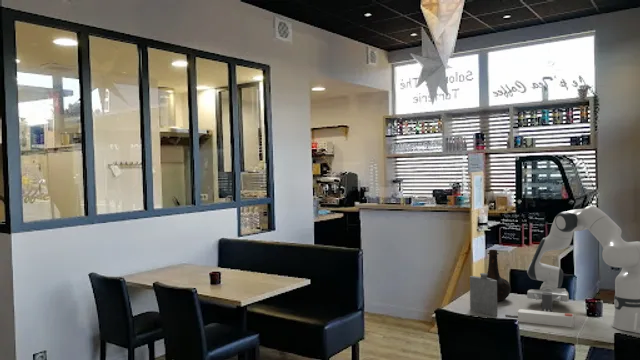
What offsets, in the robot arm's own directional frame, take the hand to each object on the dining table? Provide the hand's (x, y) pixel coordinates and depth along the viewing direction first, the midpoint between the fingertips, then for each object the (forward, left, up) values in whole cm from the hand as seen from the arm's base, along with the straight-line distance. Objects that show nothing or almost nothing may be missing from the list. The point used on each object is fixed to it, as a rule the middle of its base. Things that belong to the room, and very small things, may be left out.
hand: (547, 298), depth 271 cm
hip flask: (+33, +3, -6) cm, 34 cm away
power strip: (+12, +21, -6) cm, 25 cm away
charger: (+3, +7, -6) cm, 9 cm away
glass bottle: (+20, -24, -6) cm, 32 cm away
